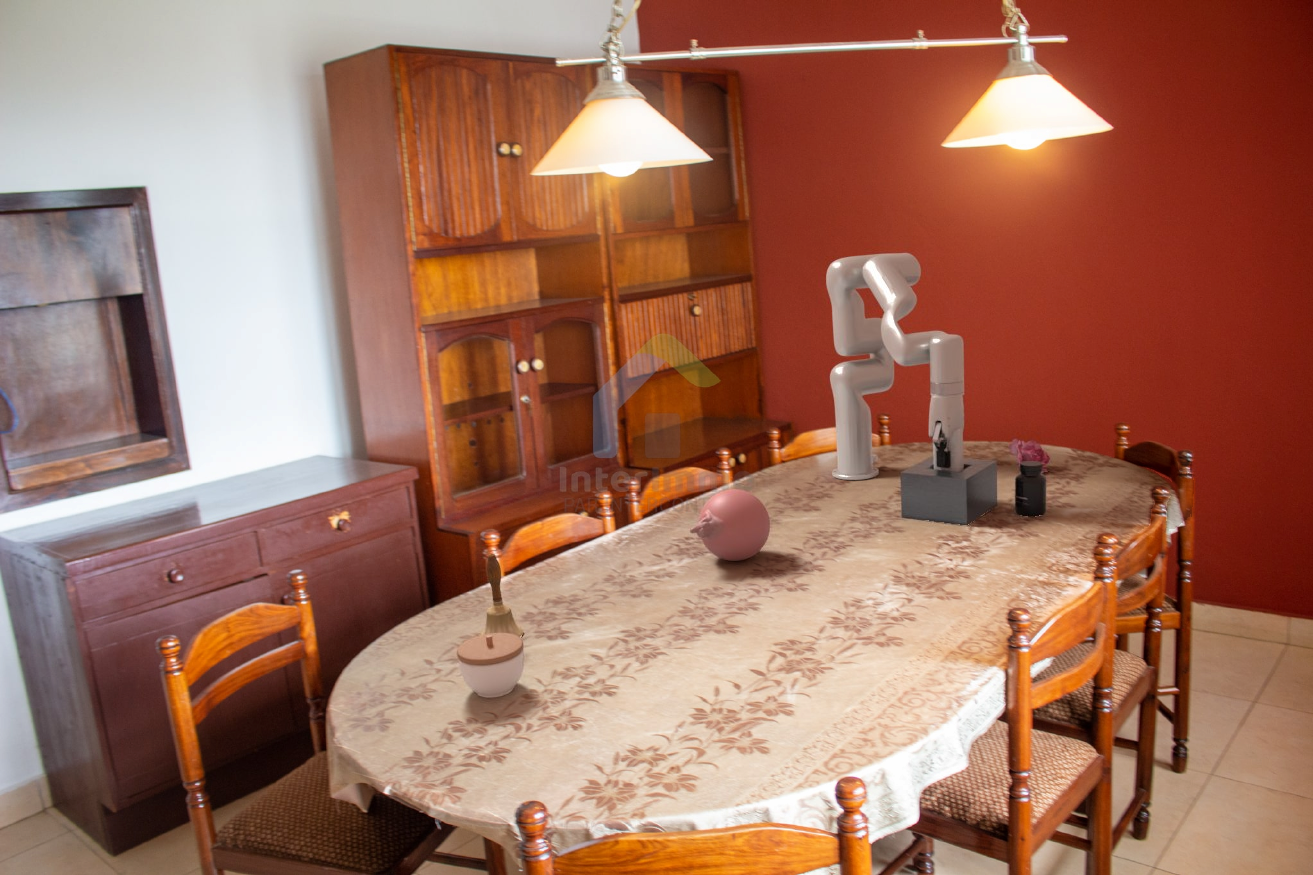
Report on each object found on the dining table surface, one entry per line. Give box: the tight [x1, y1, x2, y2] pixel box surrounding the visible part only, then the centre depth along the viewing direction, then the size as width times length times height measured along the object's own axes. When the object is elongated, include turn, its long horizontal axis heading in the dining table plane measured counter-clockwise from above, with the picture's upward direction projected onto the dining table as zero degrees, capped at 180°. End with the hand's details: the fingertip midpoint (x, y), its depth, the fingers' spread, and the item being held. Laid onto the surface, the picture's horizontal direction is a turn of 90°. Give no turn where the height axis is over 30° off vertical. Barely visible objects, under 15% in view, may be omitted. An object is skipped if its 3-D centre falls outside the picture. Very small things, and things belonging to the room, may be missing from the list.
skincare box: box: [932, 427, 964, 472], centre depth 241 cm, size 6×4×12 cm
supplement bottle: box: [1014, 461, 1047, 518], centre depth 237 cm, size 7×7×12 cm
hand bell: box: [479, 553, 525, 637], centre depth 189 cm, size 8×8×16 cm
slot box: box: [899, 455, 998, 526], centre depth 243 cm, size 18×16×11 cm
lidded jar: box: [456, 633, 525, 699], centre depth 168 cm, size 11×11×9 cm
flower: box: [1008, 438, 1051, 474], centre depth 273 cm, size 11×10×10 cm
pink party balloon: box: [689, 488, 771, 562], centre depth 220 cm, size 15×20×15 cm
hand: (948, 463), depth 242 cm, fingers closed on skincare box, 4 cm apart
